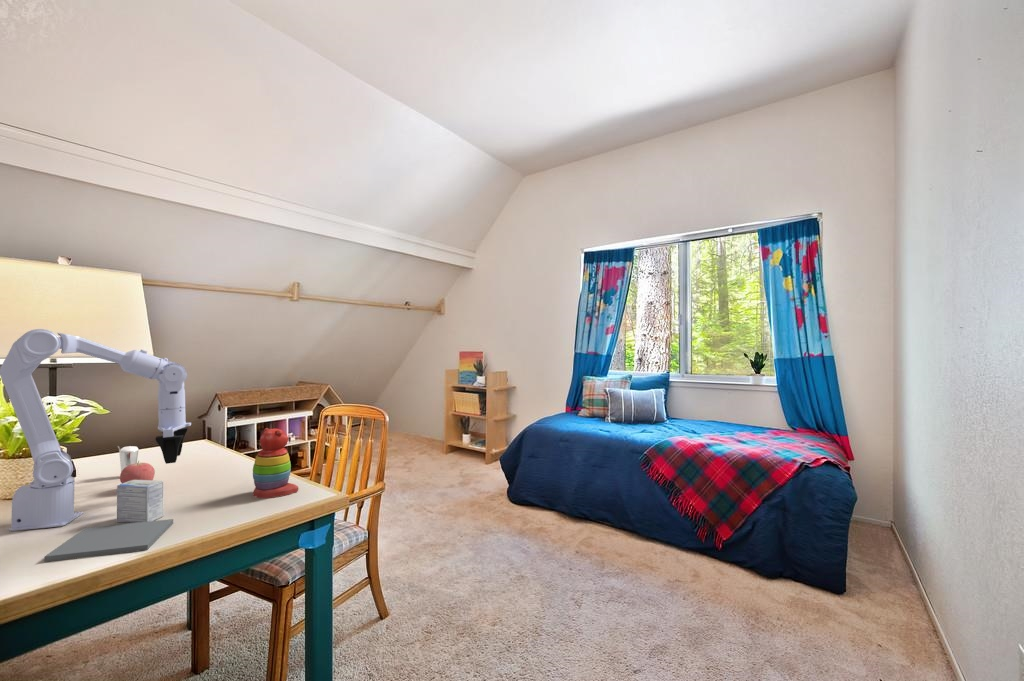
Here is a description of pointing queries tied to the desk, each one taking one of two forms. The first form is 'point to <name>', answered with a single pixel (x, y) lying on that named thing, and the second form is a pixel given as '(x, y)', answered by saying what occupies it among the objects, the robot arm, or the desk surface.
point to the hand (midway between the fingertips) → (173, 459)
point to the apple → (137, 472)
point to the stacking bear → (272, 466)
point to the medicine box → (139, 501)
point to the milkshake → (128, 456)
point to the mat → (110, 540)
